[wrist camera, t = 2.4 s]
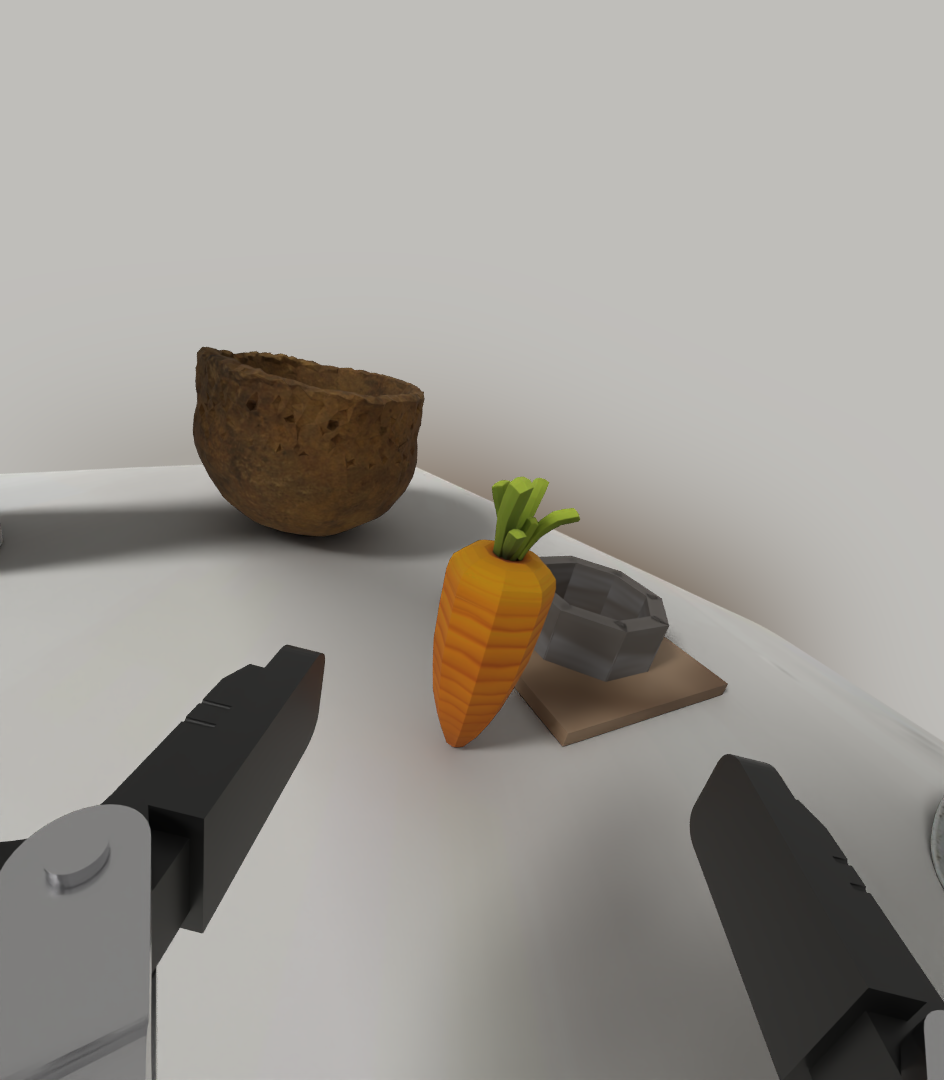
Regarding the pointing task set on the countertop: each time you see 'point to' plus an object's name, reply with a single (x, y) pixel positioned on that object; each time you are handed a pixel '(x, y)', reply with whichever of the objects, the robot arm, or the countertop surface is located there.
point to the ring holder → (607, 656)
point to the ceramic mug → (938, 842)
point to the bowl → (304, 439)
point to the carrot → (492, 612)
